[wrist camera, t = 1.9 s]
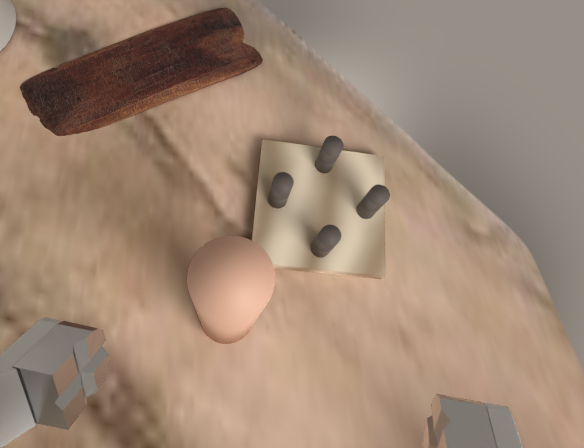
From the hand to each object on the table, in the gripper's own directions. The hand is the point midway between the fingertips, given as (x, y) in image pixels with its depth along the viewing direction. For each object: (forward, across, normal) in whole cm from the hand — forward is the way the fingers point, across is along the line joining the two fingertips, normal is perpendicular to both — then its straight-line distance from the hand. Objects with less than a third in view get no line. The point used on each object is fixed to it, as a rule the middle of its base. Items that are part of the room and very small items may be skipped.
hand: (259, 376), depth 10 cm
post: (+23, +9, +19) cm, 31 cm away
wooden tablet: (+41, +24, 0) cm, 47 cm away
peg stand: (+34, +2, +12) cm, 37 cm away
